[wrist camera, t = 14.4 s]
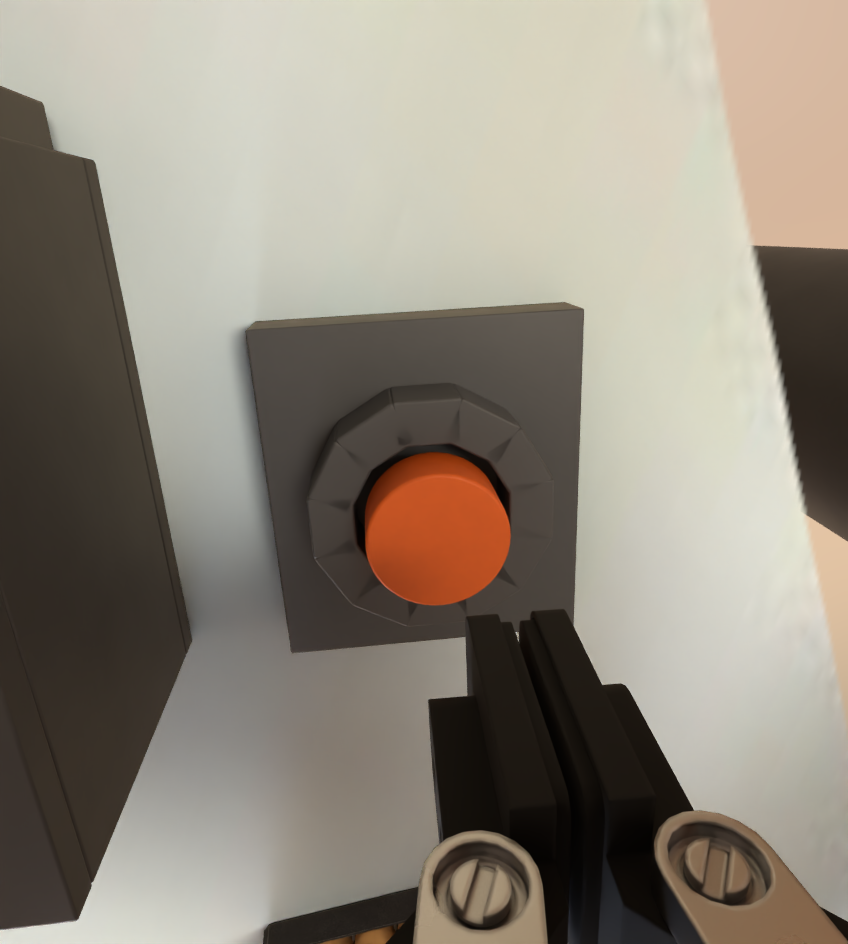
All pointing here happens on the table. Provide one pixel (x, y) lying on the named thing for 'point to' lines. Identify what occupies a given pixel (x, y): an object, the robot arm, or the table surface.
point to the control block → (413, 432)
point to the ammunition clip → (347, 922)
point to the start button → (435, 529)
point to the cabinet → (72, 542)
